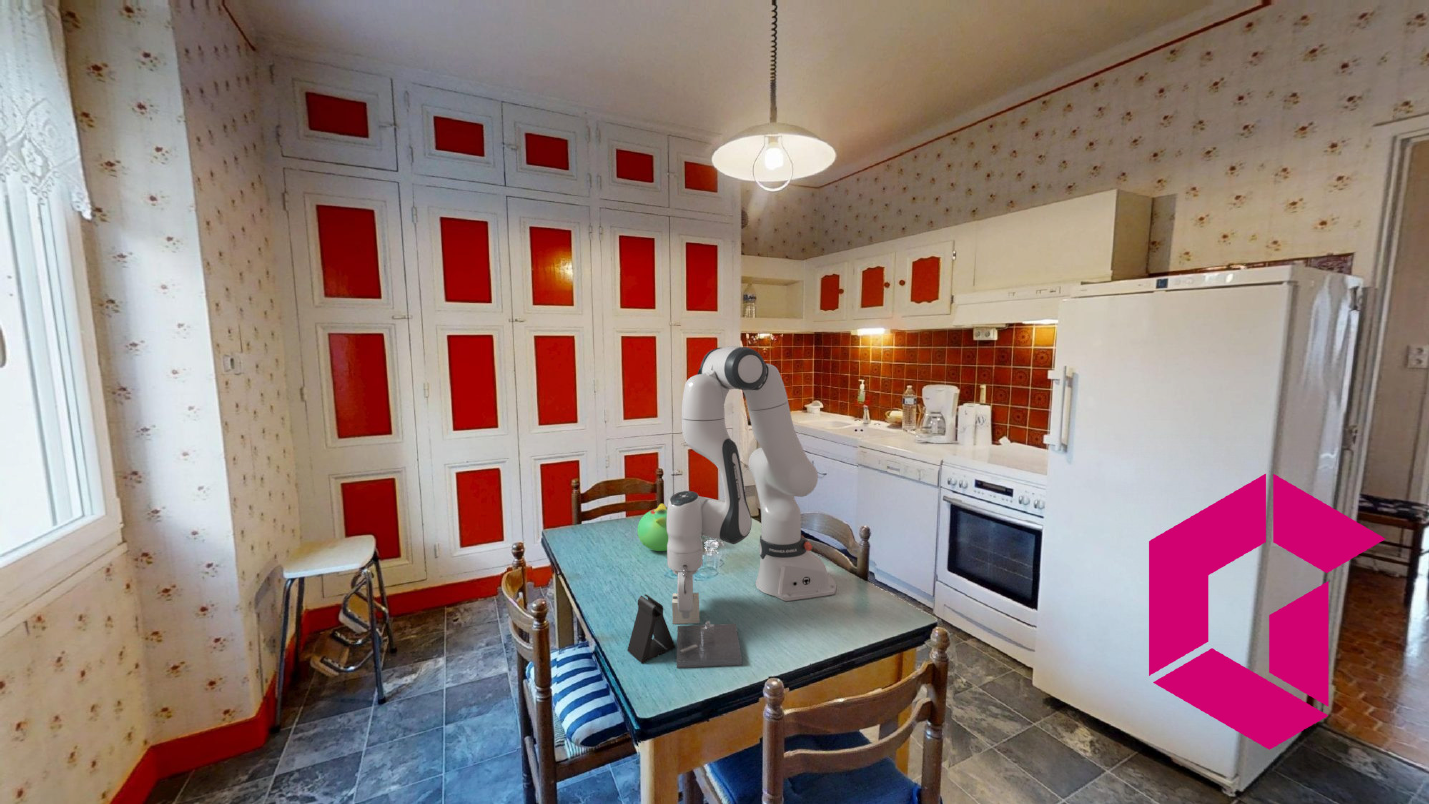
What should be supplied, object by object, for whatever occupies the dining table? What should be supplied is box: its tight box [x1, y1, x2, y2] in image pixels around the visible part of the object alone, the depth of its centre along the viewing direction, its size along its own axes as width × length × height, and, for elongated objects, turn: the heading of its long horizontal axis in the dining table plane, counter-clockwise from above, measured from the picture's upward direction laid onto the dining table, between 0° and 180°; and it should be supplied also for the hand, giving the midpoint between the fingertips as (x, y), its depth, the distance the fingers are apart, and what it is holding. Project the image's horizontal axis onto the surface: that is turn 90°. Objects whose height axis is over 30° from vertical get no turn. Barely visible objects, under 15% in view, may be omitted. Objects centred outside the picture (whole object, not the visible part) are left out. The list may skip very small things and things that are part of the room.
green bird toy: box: [637, 503, 668, 552], centre depth 174 cm, size 18×17×15 cm
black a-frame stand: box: [626, 593, 676, 664], centre depth 117 cm, size 9×6×12 cm, turn 129°
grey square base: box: [676, 620, 743, 669], centre depth 118 cm, size 14×14×6 cm
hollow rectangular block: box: [671, 592, 700, 625], centre depth 130 cm, size 7×5×6 cm
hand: (685, 610), depth 130 cm, fingers closed on hollow rectangular block, 5 cm apart
